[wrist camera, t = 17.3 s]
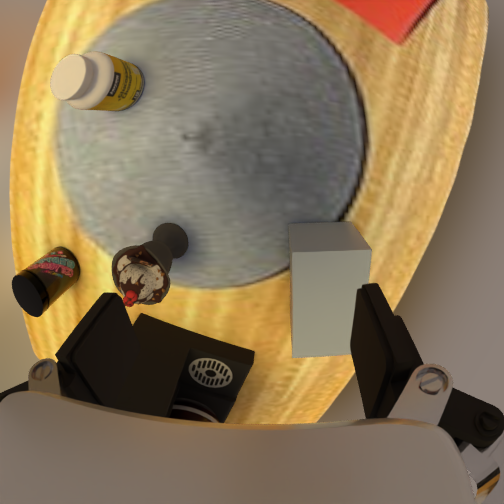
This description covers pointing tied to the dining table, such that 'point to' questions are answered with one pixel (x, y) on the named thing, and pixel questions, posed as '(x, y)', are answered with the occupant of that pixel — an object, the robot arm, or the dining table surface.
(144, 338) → the coffee maker
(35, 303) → the supplement container
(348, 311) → the grey rectangular block
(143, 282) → the sundae
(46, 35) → the dining table surface
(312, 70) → the dining table surface
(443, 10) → the dining table surface
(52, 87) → the pill bottle
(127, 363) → the robot arm
